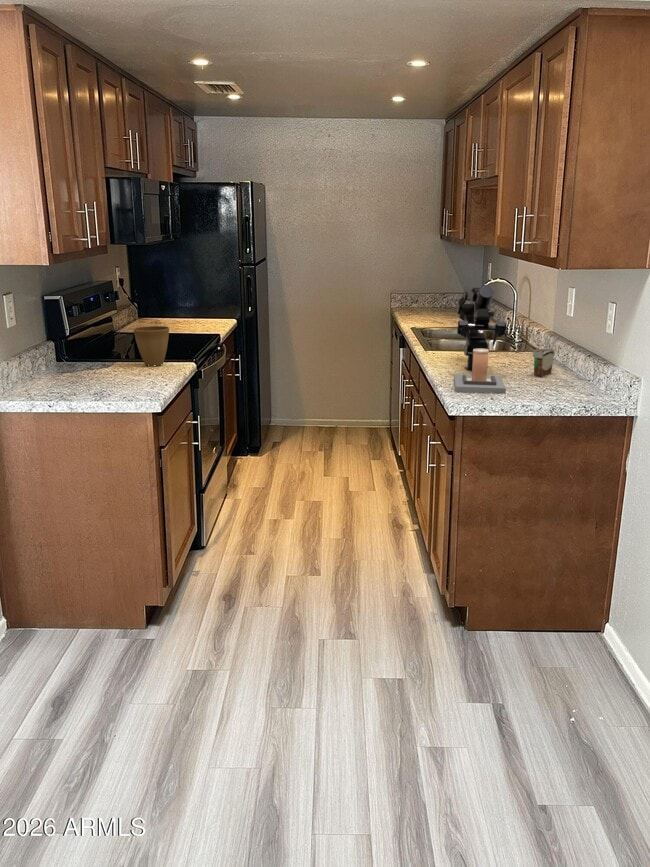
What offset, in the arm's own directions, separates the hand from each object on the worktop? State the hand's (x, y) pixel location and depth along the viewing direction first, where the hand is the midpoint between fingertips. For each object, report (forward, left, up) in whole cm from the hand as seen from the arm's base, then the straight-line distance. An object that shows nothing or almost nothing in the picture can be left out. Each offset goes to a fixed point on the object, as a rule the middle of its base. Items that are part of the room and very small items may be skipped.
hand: (481, 345), depth 292 cm
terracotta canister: (+13, -4, -11) cm, 18 cm away
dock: (+12, -4, -14) cm, 18 cm away
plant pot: (-37, -133, -14) cm, 139 cm away
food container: (-7, +27, -14) cm, 31 cm away
